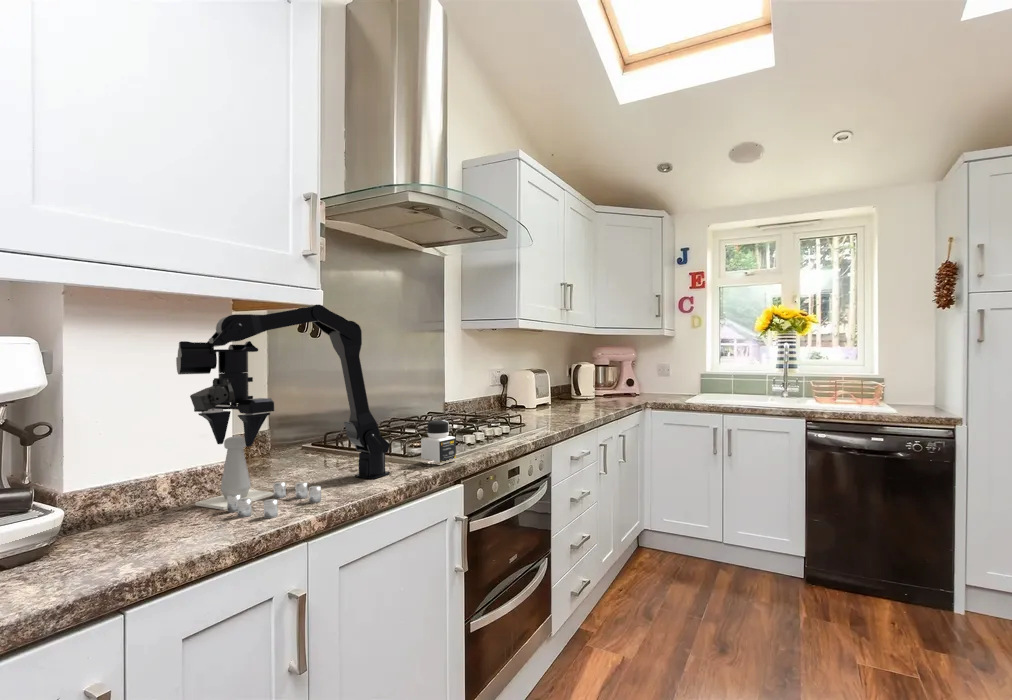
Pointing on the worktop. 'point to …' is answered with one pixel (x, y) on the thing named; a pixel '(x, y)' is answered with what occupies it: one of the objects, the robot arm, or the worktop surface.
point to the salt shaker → (235, 468)
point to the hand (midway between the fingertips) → (234, 445)
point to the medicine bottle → (438, 442)
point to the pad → (222, 502)
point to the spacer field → (272, 504)
